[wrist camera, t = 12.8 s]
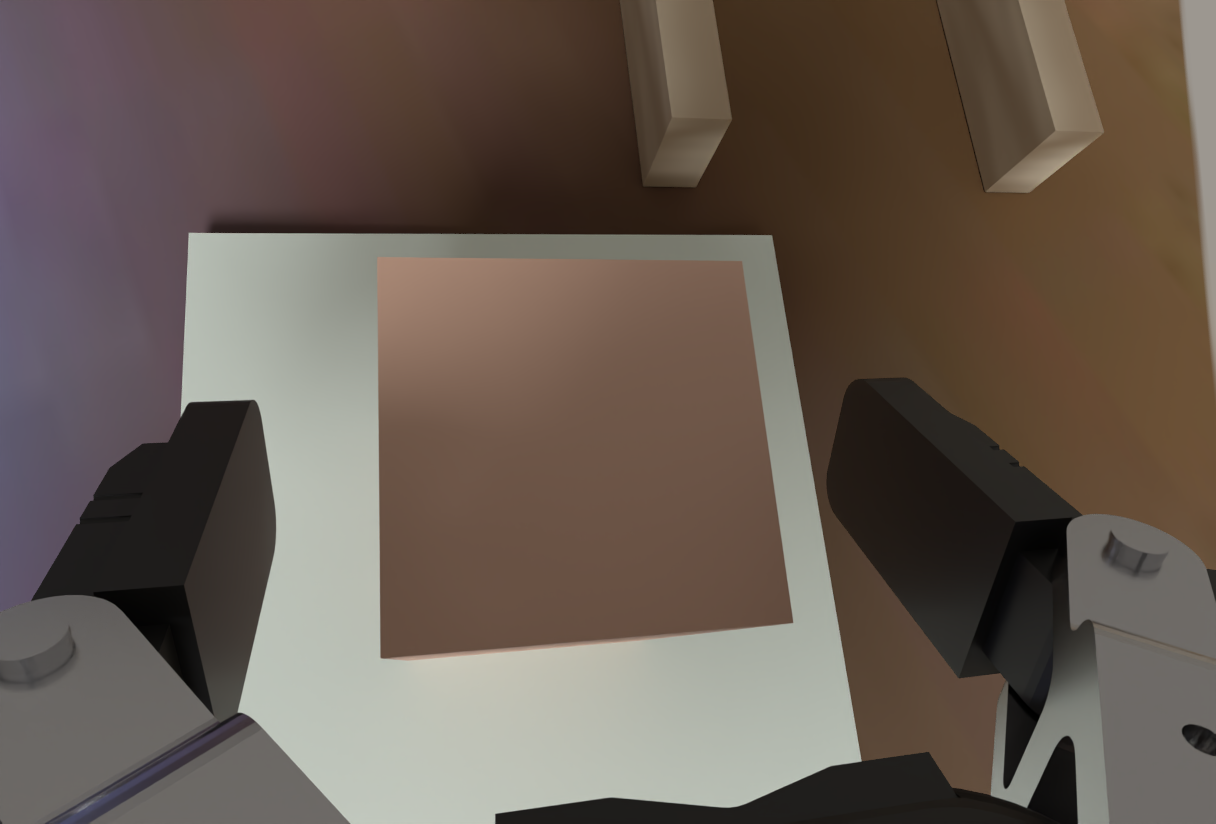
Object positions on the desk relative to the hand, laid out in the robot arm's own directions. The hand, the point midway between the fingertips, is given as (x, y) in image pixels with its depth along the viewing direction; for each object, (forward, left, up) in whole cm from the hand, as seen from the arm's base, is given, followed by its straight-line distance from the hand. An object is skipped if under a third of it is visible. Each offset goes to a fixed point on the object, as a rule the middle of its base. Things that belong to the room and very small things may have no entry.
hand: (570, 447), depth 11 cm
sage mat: (0, 0, -8) cm, 8 cm away
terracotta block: (0, 0, -7) cm, 7 cm away
